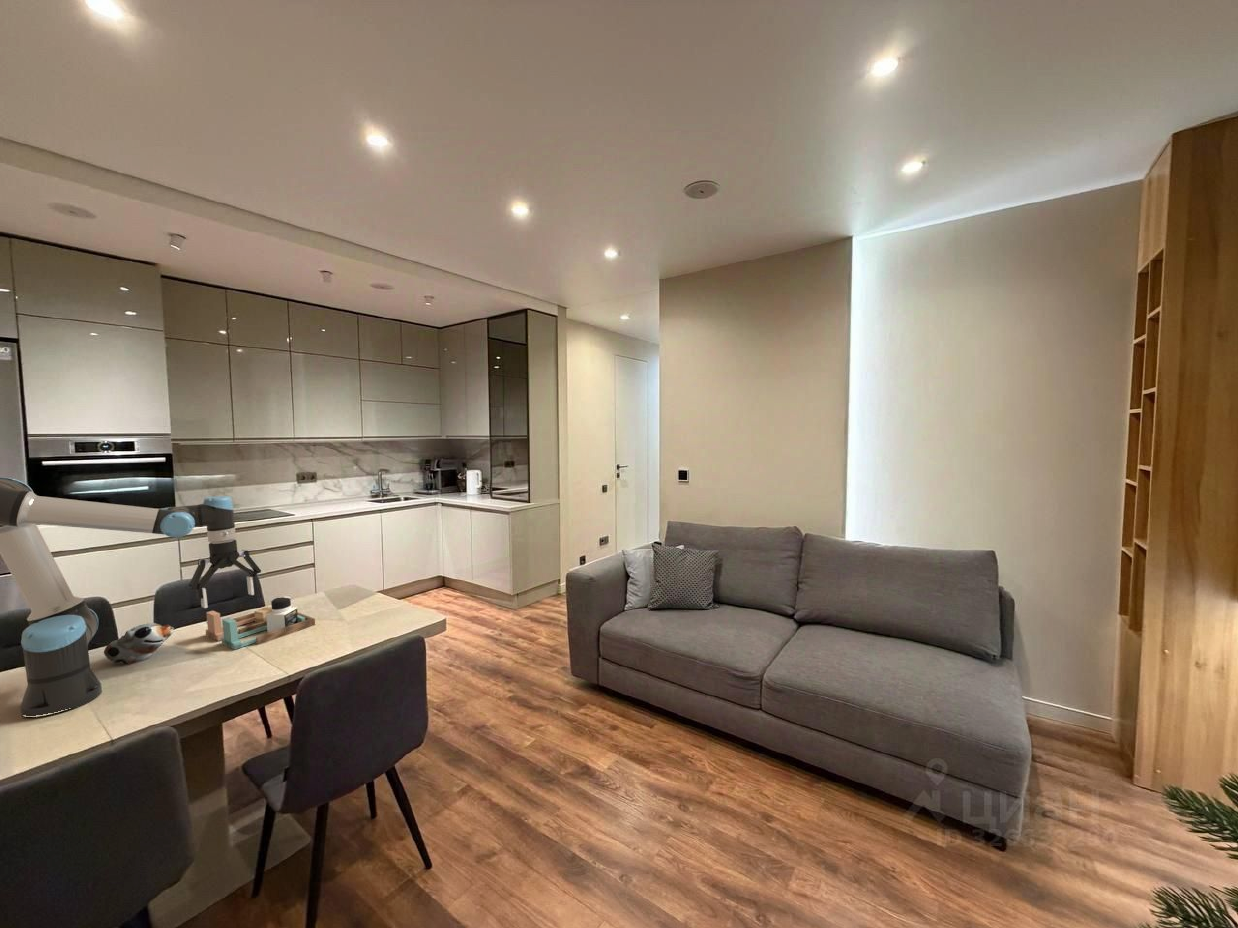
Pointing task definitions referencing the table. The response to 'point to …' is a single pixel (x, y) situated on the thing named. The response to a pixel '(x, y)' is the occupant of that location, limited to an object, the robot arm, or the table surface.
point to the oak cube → (262, 614)
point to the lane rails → (277, 633)
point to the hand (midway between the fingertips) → (228, 600)
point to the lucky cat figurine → (138, 643)
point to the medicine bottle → (281, 614)
